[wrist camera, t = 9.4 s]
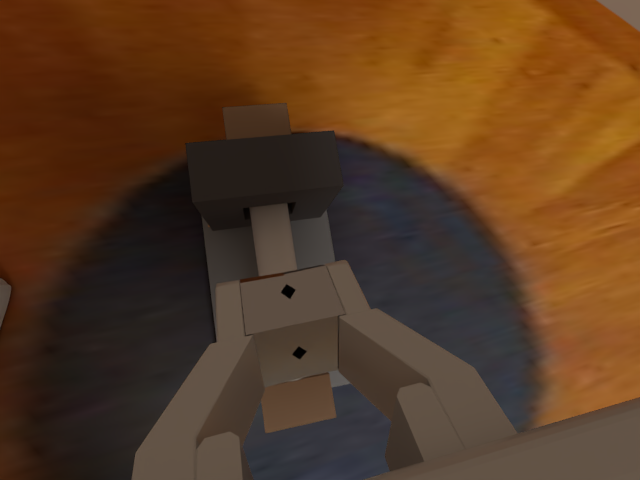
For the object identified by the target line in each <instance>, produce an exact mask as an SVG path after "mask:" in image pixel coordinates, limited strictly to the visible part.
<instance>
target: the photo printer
mask: <svg viewBox="0 0 640 480" xmlns="http://www.w3.org/2000/svg"><path fill="white" fill-rule="evenodd" d="M10 293H11V286H10V285H8V284H7V283H6V282H5V281H4V280H3V279H1V278H0V328H1V325H2V321H3V318H4V315H5V312H6V309H7V306H8V302H9V298H10Z"/></svg>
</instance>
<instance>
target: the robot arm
mask: <svg viewBox="0 0 640 480" xmlns="http://www.w3.org/2000/svg"><path fill="white" fill-rule="evenodd" d="M215 293H216V325H217V342H216V343H212V344H209V346H208V347H207V349H206V350H205V352H204V353H203V355H202V356H201V358H200V359H199V361H198V362H197V364H196V365H195V366H194V368H193V369H192V371H191V372H190V374H189V375H188V377H187V378H186V380H185V381H184V383H183V384H182V386H181V387H180V389H179V390H178V391H177V393H176V394H175V396H174V397H173V399H172V400H171V402H170V403H169V405H168V406H167V408H166V409H165V411H164V412H163V413H162V415H161V416H160V418H159V419H158V421H157V422H156V424H155V425H154V427H153V428H152V430H151V431H150V433H149V434H148V435H147V437H146V438H145V440H144V441H143V443H142V444H141V446H140V447H139V449H138V450H137V452H136V453H135V460H134V467H133V474H132V480H254V479H253V476H252V473H251V471H250V468H249V465H248V462H247V459H246V456H245V453H244V450H243V447H242V446H243V443H244V441H245V438H246V436H247V433H248V431H249V428H250V426H251V423H252V421H253V418H254V416H255V414H256V411H257V409H258V406H259V404H260V401H261V399H262V396H263V394H264V391H265V387H269V386H273V385H276V384H280V383H284V382H287V381H291V380H295V379H299V378H303V377H307V376H312V375H317V374H322V373H326V372H331V371H336V370H339V373H341V374H342V375H343V376H344V377H345V378H346V379H347V380H348V381H349V382H350V383H351V384H352V385H353V386H354V387H355V388H357V389H358V390H359V391H360V392H361V393H362V394H363V395H364V396H365V397H366V398H367V399H368V400H369V401H370V402H371V403H373V404H374V405H375V406H376V407H377V408H378V409H379V410H380V411H381V412H382V413H383V414H384V415H385V416H386V417H388V418H389V419H390V420H391V421H392V423H391V428H390V433H389V438H388V443H387V448H386V453H385V458H386V461H387V464H388V467H389V470H390V472H387V473H384V474H380V475H377V476H374V477H370V478H367V479H364V480H640V397H639V398H635V399H632V400H629V401H625V402H622V403H619V404H615V405H612V406H608V407H605V408H602V409H598V410H595V411H592V412H588V413H585V414H582V415H578V416H575V417H572V418H568V419H565V420H562V421H558V422H555V423H551V424H548V425H545V426H541V427H538V428H535V429H531V430H528V431H525V432H521V433H517V432H516V430H515V429H514V427H513V426H512V424H511V423H510V421H509V420H508V418H507V417H506V415H505V414H504V412H503V411H502V409H501V408H500V406H499V405H498V403H497V402H496V400H495V399H494V397H493V396H492V394H491V393H490V391H489V390H488V388H487V387H486V385H485V384H484V382H483V381H482V379H481V377H480V376H479V374H478V373H477V371H476V370H475V368H474V367H472V366H471V365H469V364H467V363H466V362H464V361H462V360H461V359H459V358H457V357H456V356H454V355H453V354H451V353H449V352H448V351H446V350H444V349H443V348H441V347H439V346H438V345H436V344H435V343H433V342H431V341H430V340H428V339H426V338H425V337H423V336H421V335H420V334H418V333H417V332H415V331H413V330H412V329H410V328H408V327H407V326H405V325H403V324H402V323H400V322H399V321H397V320H395V319H394V318H392V317H390V316H389V315H387V314H385V313H384V312H382V311H381V310H379V309H370V307H369V305H368V303H367V301H366V299H365V297H364V295H363V292H362V290H361V288H360V286H359V284H358V282H357V280H356V278H355V276H354V274H353V272H352V270H351V268H350V266H349V264H348V262H347V261H346V260H342V261H337V262H332V263H327V264H324V265H318V266H313V267H308V268H303V269H298V270H293V271H287V272H283V273H276V274H270V275H264V276H258V277H252V278H246V279H240V280H236V281H230V282H224V283H217V285H216V288H215Z"/></svg>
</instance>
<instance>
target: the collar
mask: <svg viewBox="0 0 640 480" xmlns="http://www.w3.org/2000/svg"><path fill="white" fill-rule="evenodd" d="M185 144H186V153H187V161H188V170H189V178H190V187H191V195H192V203H193V204H194V205H195V207H196V208H197V210H198V211H199V212H200V214H201V215H202V217H203V218H204V219H205V221H206V222H207V224H208V225H209V226H210V228H211V229H212V231H217V230H225V229H233V228H241V227H249V226H252V223H251V216H250V209H249V207H257V206H265V205H274V204H282V203H287V206H288V212H289V219H290V221H296V220H304V219H312V218H319V217H321V216H322V215H323V213H324V212H325V211H326V209H327V208H328V206H329V205H330V204H331V202H332V201H333V200H334V198H335V197H336V195H337V194H338V193H339V191H340V190H341V188H342V187H343V186H344V185H343V179H342V173H341V168H340V162H339V156H338V150H337V145H336V139H335V133H334V131H323V132H311V133H300V134H288V135H276V136H264V137H252V138H241V139H229V140H217V141H205V142H193V143H185Z"/></svg>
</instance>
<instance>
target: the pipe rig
mask: <svg viewBox="0 0 640 480" xmlns="http://www.w3.org/2000/svg"><path fill="white" fill-rule="evenodd" d="M222 110H223V117H224V125H225V132H226V140H229V139H241V138H252V137H264V136H276V135H288V134H291V129H290V122H289V116H288V110H287V104H286V103H278V104H264V105H249V106H235V107H222ZM249 209H250V216H251V223H252V226H249V227H241V228H233V229H225V230H217V231H212V229H211V228H210V226H209V225H208V224H207V222H206V221H205V219H204V218H203V217H202V224H203V232H204V240H205V249H206V257H207V265H208V274H209V282H210V290H211V299H212V307H213V315H214V324H215V332H216V340H217V325H216V293H215V288H216V285H217V283H224V282H230V281H236V280H240V279H246V278H252V277H258V276H264V275H270V274H276V273H283V272H287V271H293V270H298V269H303V268H308V267H313V266H318V265H324V264H327V263H332V262H335V257H334V251H333V245H332V239H331V233H330V227H329V221H328V215H327V209H326V211H325V212H324V213H323V215H322V216H321V217H319V218H312V219H304V220H296V221H290V219H289V212H288V206H287V203H282V204H274V205H265V206H257V207H249ZM346 384H350V382H349V381H348V380H347V379H346V378H345V377H344V376H343V375H342V374H341V373H339V370H336V371H331V372H326V373H322V374H317V375H312V376H307V377H303V378H299V379H295V380H291V381H287V382H284V383H280V384H276V385H273V386H269V387H265V391H264V394H263V396H262V399H261V401H260V403H262V410H263V418H264V425H265V433H269V432H274V431H278V430H283V429H287V428H291V427H296V426H300V425H305V424H309V423H313V422H318V421H322V420H327V419H331V418H335V417H336V413H335V406H334V400H333V394H332V387H336V386H341V385H346Z"/></svg>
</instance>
